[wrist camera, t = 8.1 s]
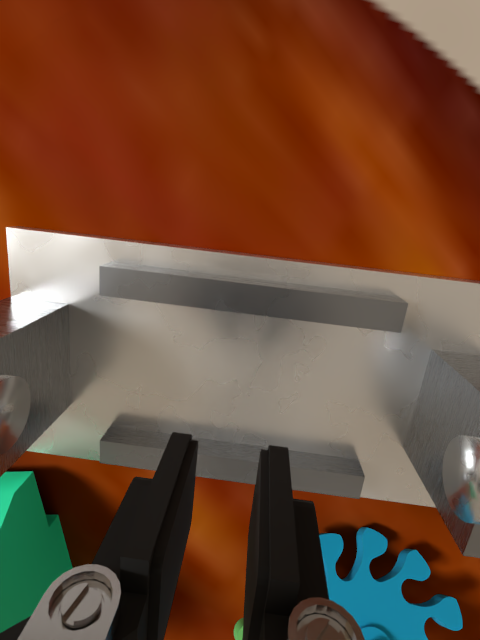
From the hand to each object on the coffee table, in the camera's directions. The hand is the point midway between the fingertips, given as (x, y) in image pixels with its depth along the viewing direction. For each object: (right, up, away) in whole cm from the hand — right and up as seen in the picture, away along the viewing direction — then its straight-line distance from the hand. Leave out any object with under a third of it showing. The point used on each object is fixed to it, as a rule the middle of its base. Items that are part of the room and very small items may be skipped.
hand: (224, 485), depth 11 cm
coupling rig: (+1, +2, +7) cm, 8 cm away
